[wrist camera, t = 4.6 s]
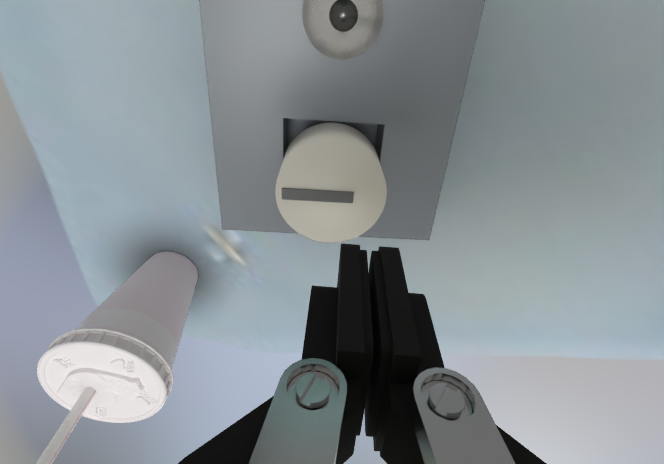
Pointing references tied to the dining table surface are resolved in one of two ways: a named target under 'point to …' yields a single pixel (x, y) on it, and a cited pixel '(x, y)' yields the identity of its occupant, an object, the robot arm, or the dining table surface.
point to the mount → (335, 102)
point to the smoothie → (121, 350)
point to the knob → (331, 183)
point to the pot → (342, 26)
